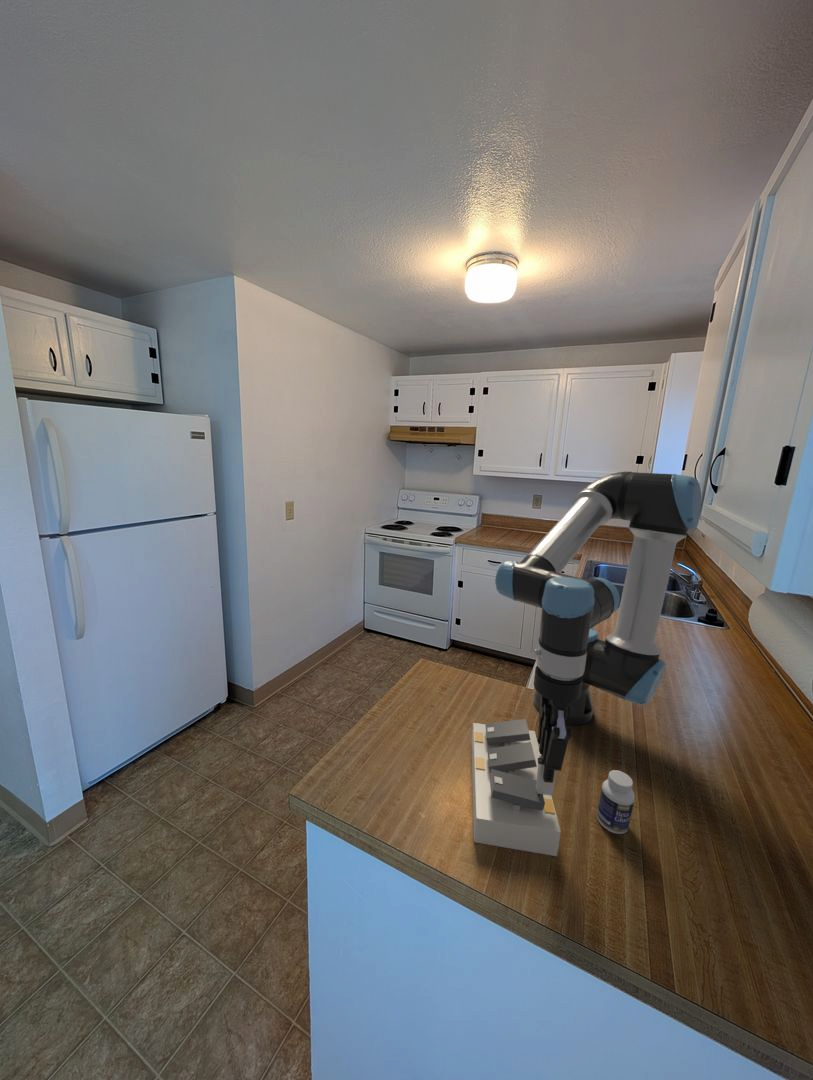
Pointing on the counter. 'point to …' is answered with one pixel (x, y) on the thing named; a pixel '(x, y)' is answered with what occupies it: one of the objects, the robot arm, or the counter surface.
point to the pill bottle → (616, 802)
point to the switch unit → (509, 805)
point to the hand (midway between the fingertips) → (544, 791)
